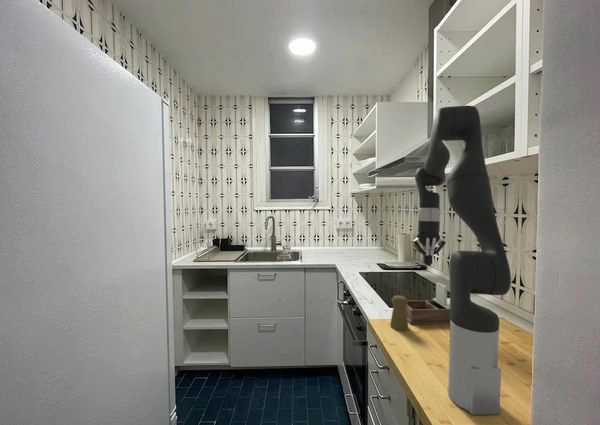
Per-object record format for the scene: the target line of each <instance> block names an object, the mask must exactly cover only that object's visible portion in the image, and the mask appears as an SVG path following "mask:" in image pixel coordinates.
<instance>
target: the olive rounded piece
mask: <svg viewBox="0 0 600 425" xmlns="http://www.w3.org/2000/svg"><path fill="white" fill-rule="evenodd" d="M407 300H408V299H407V297H405V296H404V295H397V294H396V295H393V297H392V298H391V302H392V305H393V306H392V312H391V318H390V325H389V326H390V328H391V329H393V330H395V331H400V332H405V331H408V330H409V323H408V322H407V313H406V306H407V303H408V301H407Z"/></svg>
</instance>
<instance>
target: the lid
mask: <svg viewBox="0 0 600 425" xmlns="http://www.w3.org/2000/svg"><path fill="white" fill-rule="evenodd" d="M432 300H434V301H435V302H437V303H439V304H440V305H442V306H443V307H445V308H446V309H450V297H448V286H446V285H444V284H442V283H440V282H436V283H435V297H433V298H432Z"/></svg>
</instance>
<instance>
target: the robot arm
mask: <svg viewBox="0 0 600 425" xmlns="http://www.w3.org/2000/svg"><path fill="white" fill-rule="evenodd" d="M481 123H482V122H481V117H480V112H479V110H478V108H477V107H476V106H475V105H458V106H456V105H455V106H453V105H452V106H444V107H441V108H439V109H438V110H437V111H436V113H435V115H434V117H433V121H432V126H431V133H430V139H429V147H428V152H427V156H426V158H425V161H424V164H423V167H418V168H417V170H416V171H415V173H414V178H415V179H414V181H415V183H416V187H417V191H418V196H419V197H418V198H419V200H418V201H419V202H418V203H419V204H418V205H419V208H418V214H417V215H418V216H417V219H418V221H417V224H418V226H417V232H418V233H417V235H416V238H414V239H412V240H411V241H410V242H411V244H412V246H413V247H414V248H415V250H416V251H417V252H418V253H419V254H421V255H423V256H422V258H423V264H424V265H425V266H432V264H433V256H434V255H437V254H439V252H440V251H441V250H442V249H443V247H444V246H446V244H447V242H446V241H445V240H443V239H442V238H441V236H440V230H441V228H440V225H441V212H440V203H441V202H440V200H441V199H440V198H441V196H440V194H439V193H438V192H435V191H434V192H433V191H430V190H428V189H427V188H426V187H438V186H441V185H443V184H444V183H445V181H446V186H447V187H446V189H447V198H448V202H449V205H450V207H451V208H452V210H453V211H454V213H456V215H457V217H459V218H460V219H461V221H463V222H464V223H465V224H466V226H467V227H468V228H469V229H470V230H471V231H472V233H473V234H474V236H475V237H476V240H477V242H478V244H479V247H480V250H481V251H479V250H456V251H454V252H453V253H452V254H451V255H450V259H449V268H448V269H449V274H448V275H449V298H450V324H449V325H450V326H449V348H448V349H449V351H448V352H449V354H448V355H449V356H448V390H447V391H448V392H447V394H448V397H449V398H450V399H451V401H452V402H453V403H454V404H455V405H457V406H458V407H460V408H461V409H464V410H465V411H467V412H468V413H469V414H470V415H472V416H474V415H477V416H478V415H481V416H482V415H483V416H484V415H500V411H501V387H502V386H501V383H502V381H501V380H502V370H501V368H499V367H498V366H499V340H500V318H499V315H498V314H497V313H496V312H495V311H493V310H492V309H490V308H487V307H485V306H482V305H480V304H477V303H476V302H473V301H472V299H471V294H475V295H487V296H503V295H504V296H505V295H506V294H507V293H509V291H510V290H511V285H512V284H511V283H512V277H511V276H512V274H511V269H510V264H509V259H508V256H507V253H506V249H505V246H504V243H503V240H502V236H501V234H500V230H499V226H498V222H497V218H496V212H495V207H494V200H493V194H492V188H491V183H490V182H491V181H490V177H489V174H488V169H487V164H486V160H485V153H484V148H483V138H482V137H483V135H482V126H481ZM443 141H444V142H448V141H449V142H450V141H452V142H453V141H454V142H455V141H462V142H464V149H463V151H462V152H461V155H460V156H459V158H458V159H457V161H455V163H454V164H453V165H452V166H453V167H452V168H451V169H450V171H449V172H448V174H447V177H446V171H445V170H446V168H447V165H448V164H449V162H450V159H451V154H450V150H449V149H448V147H447V146H446V145H445V143H444V142H443Z"/></svg>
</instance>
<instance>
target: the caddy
mask: <svg viewBox="0 0 600 425" xmlns="http://www.w3.org/2000/svg"><path fill="white" fill-rule="evenodd" d="M407 301H408V303H407V306H406V313H407V322H408V325H410V326H411V325H413V326H415V325H450V309H446V308H445V307H443V306H442V305H440V304H439V303H437V302H435V301H434V300H433V299H432V300H431V299H428V300H427V299H425V300H424V299H423V300H422V299H421V300H420V299H419V300H418V299H416V300H413V299H412V300H411V299H410V300H408V299H407Z"/></svg>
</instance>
